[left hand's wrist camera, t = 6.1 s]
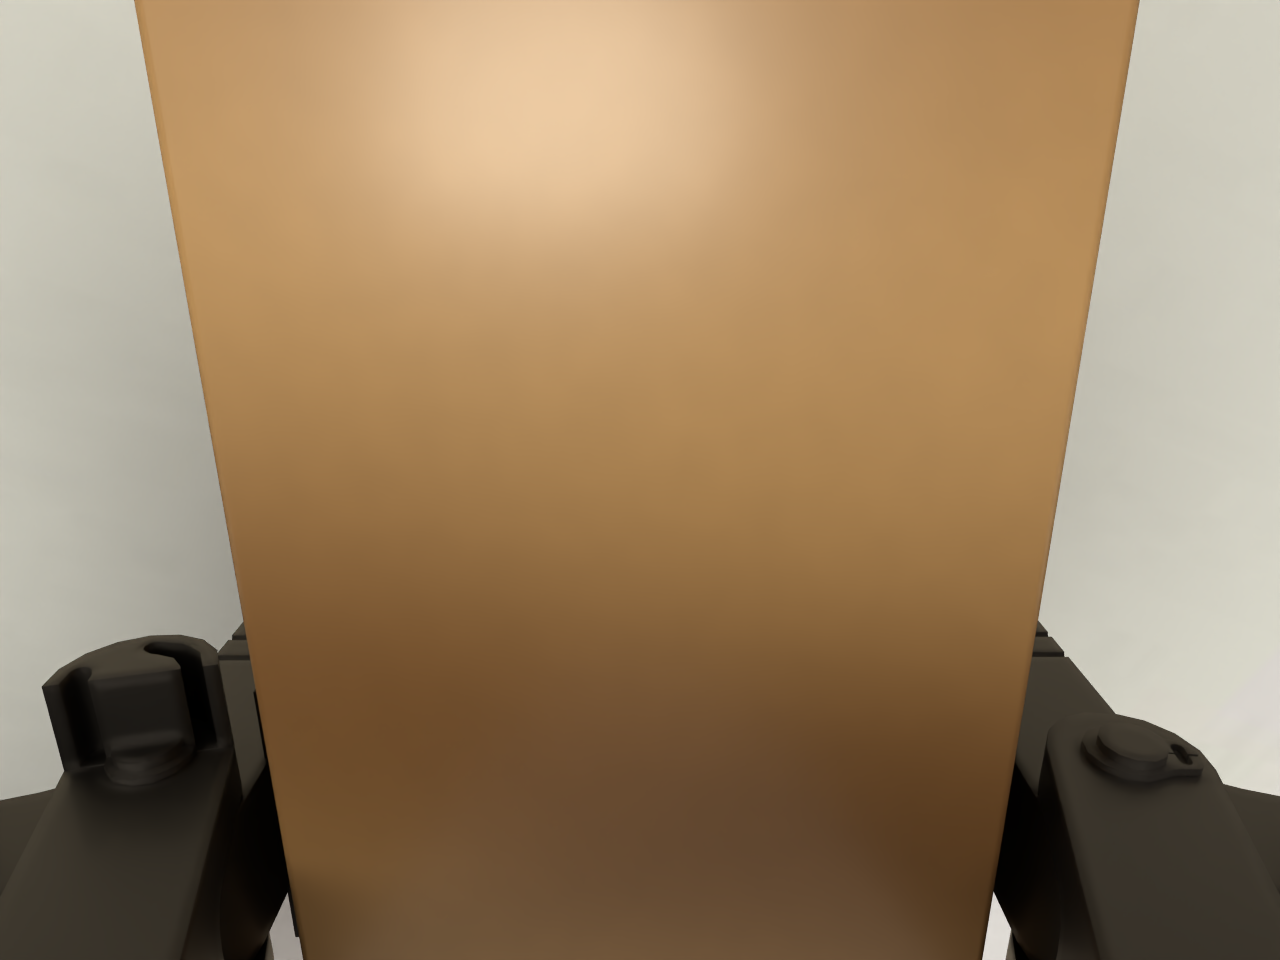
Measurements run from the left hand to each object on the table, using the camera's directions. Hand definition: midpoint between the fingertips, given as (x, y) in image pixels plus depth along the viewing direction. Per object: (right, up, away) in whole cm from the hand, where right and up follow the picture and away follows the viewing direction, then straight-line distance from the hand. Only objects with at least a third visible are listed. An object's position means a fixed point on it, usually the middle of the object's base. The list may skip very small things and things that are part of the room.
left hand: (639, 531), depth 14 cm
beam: (0, +20, -7) cm, 21 cm away
